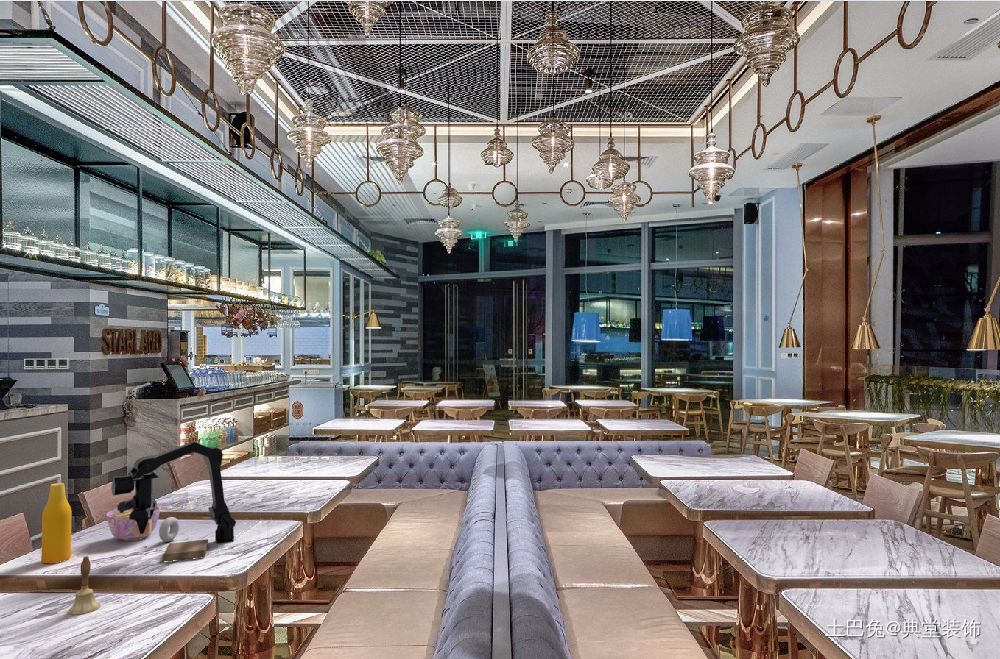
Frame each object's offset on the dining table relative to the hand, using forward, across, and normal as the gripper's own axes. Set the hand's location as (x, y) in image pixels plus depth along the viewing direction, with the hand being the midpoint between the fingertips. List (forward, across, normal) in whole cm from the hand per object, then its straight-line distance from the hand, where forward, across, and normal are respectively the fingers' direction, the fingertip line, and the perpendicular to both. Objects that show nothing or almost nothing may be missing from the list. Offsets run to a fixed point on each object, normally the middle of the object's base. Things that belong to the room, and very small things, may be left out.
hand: (143, 531), depth 230 cm
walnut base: (+10, +1, +15) cm, 18 cm away
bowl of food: (+10, -31, -9) cm, 34 cm away
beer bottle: (+10, -11, -31) cm, 34 cm away
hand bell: (+10, +45, -8) cm, 47 cm away
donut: (+10, -20, +6) cm, 23 cm away
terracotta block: (+1, 0, 0) cm, 1 cm away
